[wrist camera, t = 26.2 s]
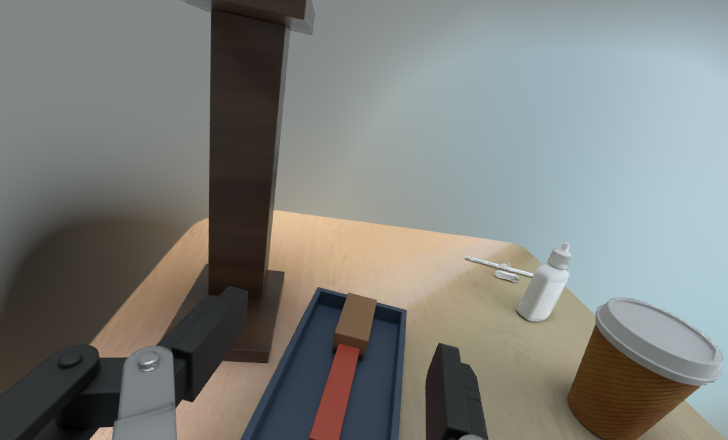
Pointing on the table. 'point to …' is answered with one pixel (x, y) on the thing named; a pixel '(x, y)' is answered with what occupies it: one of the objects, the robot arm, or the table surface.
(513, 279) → the picture light
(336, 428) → the brush
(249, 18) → the shelf stand
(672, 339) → the disposable coffee cup
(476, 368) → the table surface
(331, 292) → the tray
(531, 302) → the eye dropper bottle
